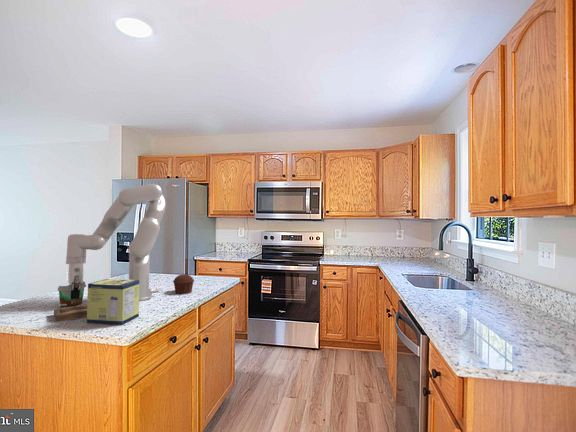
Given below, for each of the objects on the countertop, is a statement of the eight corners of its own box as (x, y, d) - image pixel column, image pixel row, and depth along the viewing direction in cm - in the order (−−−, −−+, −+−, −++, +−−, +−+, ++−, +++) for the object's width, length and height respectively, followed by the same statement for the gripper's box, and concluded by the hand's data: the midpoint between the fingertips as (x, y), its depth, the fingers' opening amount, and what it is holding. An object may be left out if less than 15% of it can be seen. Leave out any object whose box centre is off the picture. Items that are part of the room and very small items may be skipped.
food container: (67, 309, 128) (68, 287, 128) (56, 308, 129) (57, 286, 129) (91, 302, 140) (92, 281, 140) (81, 301, 141) (82, 280, 141)
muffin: (169, 291, 162) (170, 274, 163) (188, 289, 170) (188, 272, 170) (177, 296, 154) (178, 277, 154) (197, 292, 161) (197, 275, 161)
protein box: (105, 314, 121) (106, 278, 122) (139, 316, 120) (140, 279, 120) (85, 323, 111) (86, 283, 111) (122, 325, 109) (123, 285, 110)
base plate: (101, 307, 131) (101, 302, 131) (106, 313, 123) (106, 307, 123) (53, 315, 119) (53, 309, 119) (55, 322, 111) (55, 315, 111)
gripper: (88, 262, 131) (86, 299, 130) (83, 258, 144) (80, 291, 143) (68, 262, 126) (65, 301, 125) (64, 258, 139) (61, 293, 138)
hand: (73, 296), depth 134 cm, fingers open, 9 cm apart
